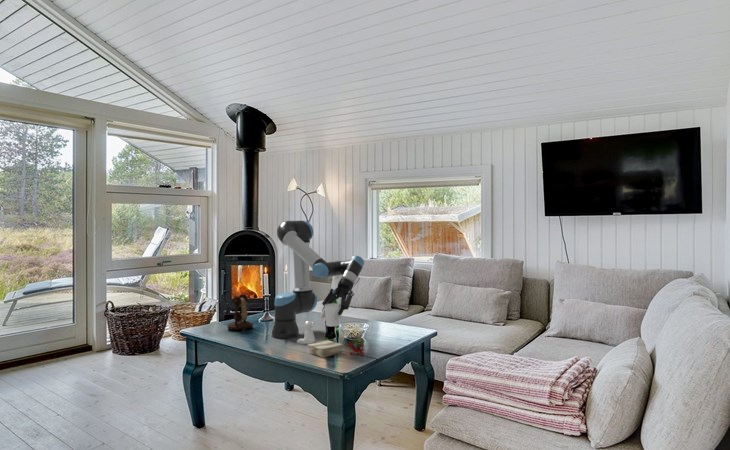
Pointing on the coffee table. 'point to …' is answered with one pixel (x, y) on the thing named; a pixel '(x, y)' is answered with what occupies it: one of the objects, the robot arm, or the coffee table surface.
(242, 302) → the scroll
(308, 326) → the sitting furry creature
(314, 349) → the birch stand
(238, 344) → the coffee table surface
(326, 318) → the white cup
